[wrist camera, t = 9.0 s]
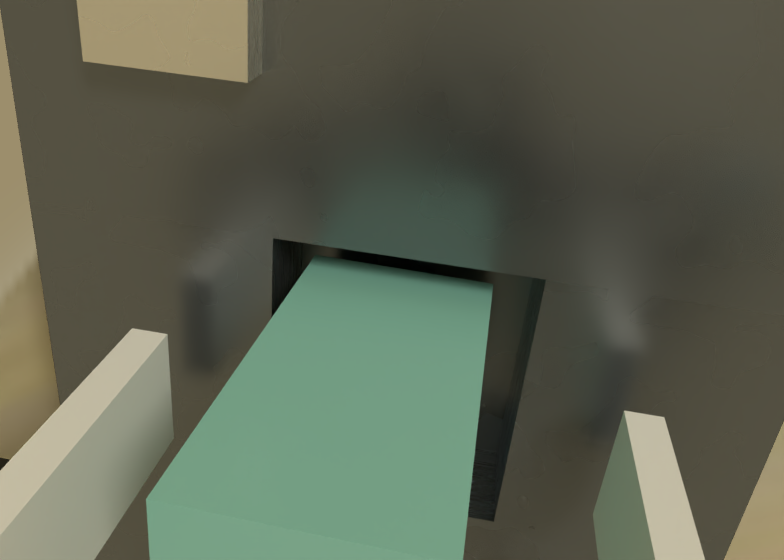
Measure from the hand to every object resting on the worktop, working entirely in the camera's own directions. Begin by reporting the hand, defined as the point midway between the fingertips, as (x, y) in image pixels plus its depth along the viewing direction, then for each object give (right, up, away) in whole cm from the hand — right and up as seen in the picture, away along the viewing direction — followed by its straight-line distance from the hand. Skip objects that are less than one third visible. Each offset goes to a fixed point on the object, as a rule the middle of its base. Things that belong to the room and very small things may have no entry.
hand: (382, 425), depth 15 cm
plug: (0, +1, +3) cm, 4 cm away
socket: (+1, +2, +4) cm, 5 cm away
